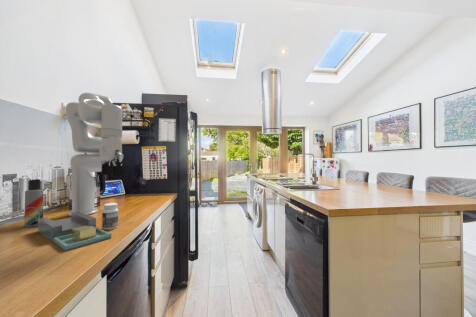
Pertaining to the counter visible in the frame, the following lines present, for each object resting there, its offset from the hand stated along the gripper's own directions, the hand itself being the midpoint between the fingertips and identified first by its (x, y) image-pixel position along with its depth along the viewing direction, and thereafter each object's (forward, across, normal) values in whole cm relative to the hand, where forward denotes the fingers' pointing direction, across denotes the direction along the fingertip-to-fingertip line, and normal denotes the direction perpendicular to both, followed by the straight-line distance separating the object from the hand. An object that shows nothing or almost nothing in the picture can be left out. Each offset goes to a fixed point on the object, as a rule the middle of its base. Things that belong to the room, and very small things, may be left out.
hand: (111, 175), depth 83 cm
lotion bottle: (+22, -32, -17) cm, 42 cm away
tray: (+22, +6, -12) cm, 26 cm away
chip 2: (+20, +7, -12) cm, 24 cm away
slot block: (+22, -10, -12) cm, 27 cm away
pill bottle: (+22, 0, 0) cm, 22 cm away
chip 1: (+22, +5, -12) cm, 25 cm away
